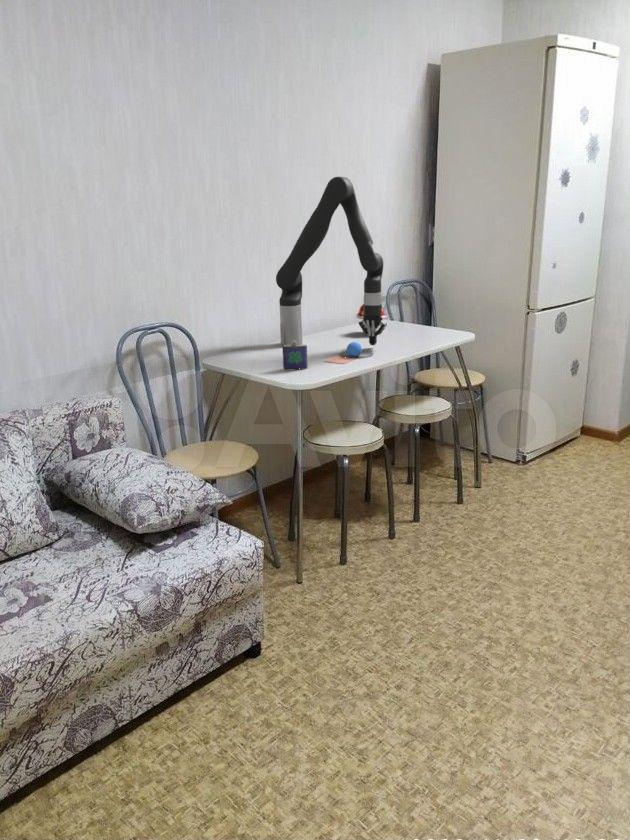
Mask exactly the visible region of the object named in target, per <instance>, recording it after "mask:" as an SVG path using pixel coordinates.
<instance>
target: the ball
mask: <svg viewBox="0 0 630 840" xmlns="http://www.w3.org/2000/svg"><path fill="white" fill-rule="evenodd" d="M362 350H363V348H362V345H361V344H360V343H358V342H356V341H351V342H350V343H349V344H348V345H347V346H346V351H347V353H348V355H349V356H351V357H357V356H359V355H360V354H361V352H362Z"/></svg>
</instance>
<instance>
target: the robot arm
mask: <svg viewBox="0 0 630 840" xmlns="http://www.w3.org/2000/svg"><path fill="white" fill-rule="evenodd" d="M354 187H355V186H354V185H353V182H352V181H351V179H349V178H348V177H345V176H334V177H333V178H330V180H329V181H328V183H327V185H326V187H325V188H324V191H323V193H322V196H321V198H320V200H319V202H318V204H317V206H316V208H315V209H314V210H313V212H312V214H311V216H310V217H309V219H308V220H307V222H306V224H305V226H304V227H303V229H302V230H301V233H300V234H299V236H298V237H297V238H298V239H297V240H296V242H295V244H294V246H293V248H292V250H291V252H290V254H289V255H288V258H286V260H285V262H284V263H283V264H282V265H281V267H280V268H279V269H278V271H277V273H276V277H275V283H276V286H278V288H280V289H281V294H280V297H279V302H278V303H279V322H280V324H279V329H280V330H279V333H280V346H281V345H287V344H288V345H289V344H293V341H297V342H296V344H297V345H303V325H302V324H303V322H302V318H303V317H302V298H303V275H302V273H301V271H302V269H303V267H304V266H305V265H306V263H307V262H308V260H310V258H311V257H313V255H314V254H315V253H316V251H317V250H319V248H320V246H321V245H322V243H323V241H324V240H325V238H326V236H327V234H328V231H329V229H330V226H331V222H332V218H333V215H334V214H335V212H336V210H337V209H338V207H339V206H341V207H342V209H343V211H344V214H345V216H346V221H347V225H348V230H349V233H350V235H351V238H352V240H353V242H354V245H355V247H356V249H357V255H358V259H359V262H360V265H361V267H362V268H363V270H364V271H366V277H365V279H364V281H363V300H362V302H363V304H364V317H363V319H361V321H359V322H358V325H359V326H360V329H361V330H362V332H363V331H364V332H363V334H364V333H365V334H367V335H366V336H368V342H369V343H368V344H369V345H370V346H376V344H377V336H378V335H379V336H380V335H381V334H382V333H383V331H385V328H387V326H388V323H386V322H384V321H383V319H382V317H381V315H382V307H383V297H382V278H383V271H384V259H383V256H382V255H381V254H380V253H378V252H375V251H374V248H373V244H374V242H373V241H374V240H373V238H372V236H371V233H370V232H369V229H368V226H367V225H366V223H365V220H364V217H363V215H362V212H361V209H360V206H359V203H358V200H357V194H356V193H355V188H354ZM366 325H367V326H366ZM378 327H380V328H379V329H378ZM365 334H364V335H365Z"/></svg>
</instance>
